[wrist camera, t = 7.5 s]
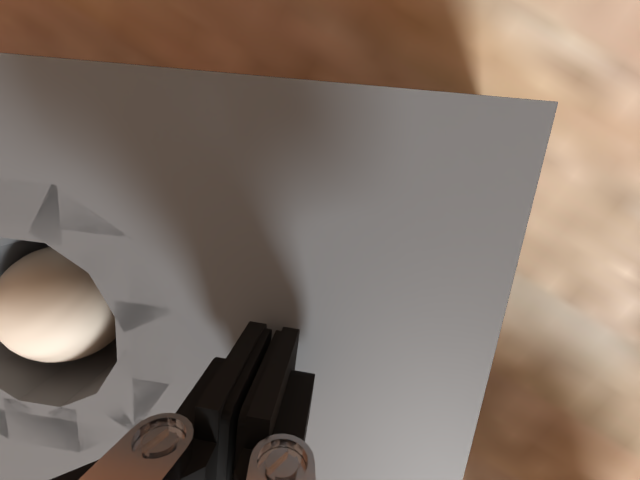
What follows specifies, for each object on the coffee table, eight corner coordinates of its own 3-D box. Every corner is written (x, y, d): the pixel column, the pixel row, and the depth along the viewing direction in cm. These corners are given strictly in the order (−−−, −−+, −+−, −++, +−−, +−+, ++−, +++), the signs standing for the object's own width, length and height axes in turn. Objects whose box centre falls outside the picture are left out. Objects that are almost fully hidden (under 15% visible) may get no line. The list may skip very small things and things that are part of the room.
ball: (110, 216, 14) (169, 282, 18) (10, 225, 15) (87, 287, 18) (38, 326, 11) (129, 380, 14) (-86, 330, 11) (31, 380, 15)
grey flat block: (-11, 77, 15) (-182, 36, 10) (485, 123, 14) (558, 102, 9) (30, 411, 19) (-77, 494, 15) (412, 474, 18) (434, 589, 13)
